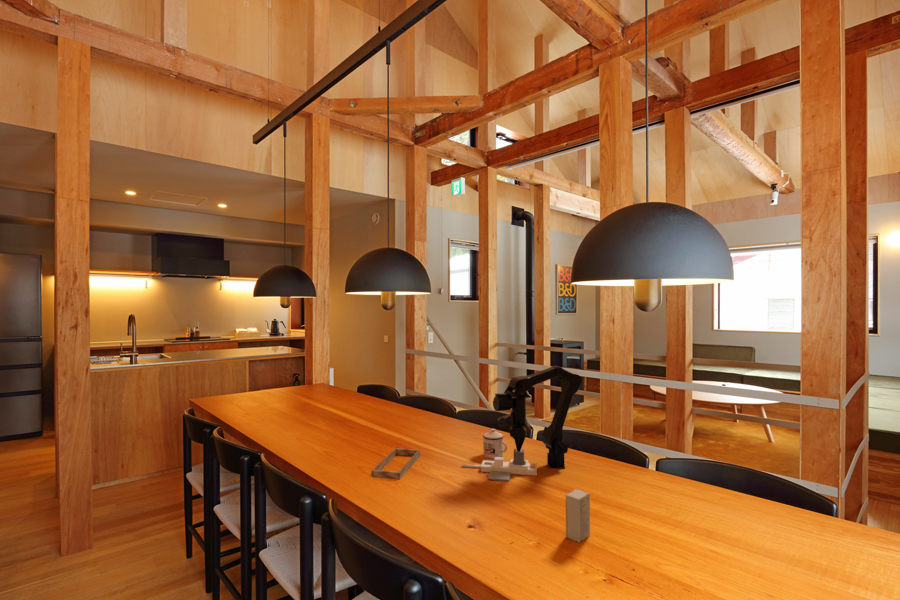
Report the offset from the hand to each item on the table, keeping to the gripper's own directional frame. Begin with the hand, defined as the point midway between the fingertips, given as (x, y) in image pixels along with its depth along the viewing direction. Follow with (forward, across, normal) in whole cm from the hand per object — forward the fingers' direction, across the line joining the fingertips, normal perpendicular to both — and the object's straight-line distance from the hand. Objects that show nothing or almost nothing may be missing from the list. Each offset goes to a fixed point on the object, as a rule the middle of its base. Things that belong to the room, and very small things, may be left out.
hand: (519, 447), depth 177 cm
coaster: (+9, +8, -7) cm, 14 cm away
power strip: (+9, 0, -8) cm, 12 cm away
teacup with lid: (+9, -16, -11) cm, 22 cm away
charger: (+7, 0, 0) cm, 7 cm away
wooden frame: (+9, +4, -50) cm, 51 cm away
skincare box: (+9, +49, +19) cm, 53 cm away
